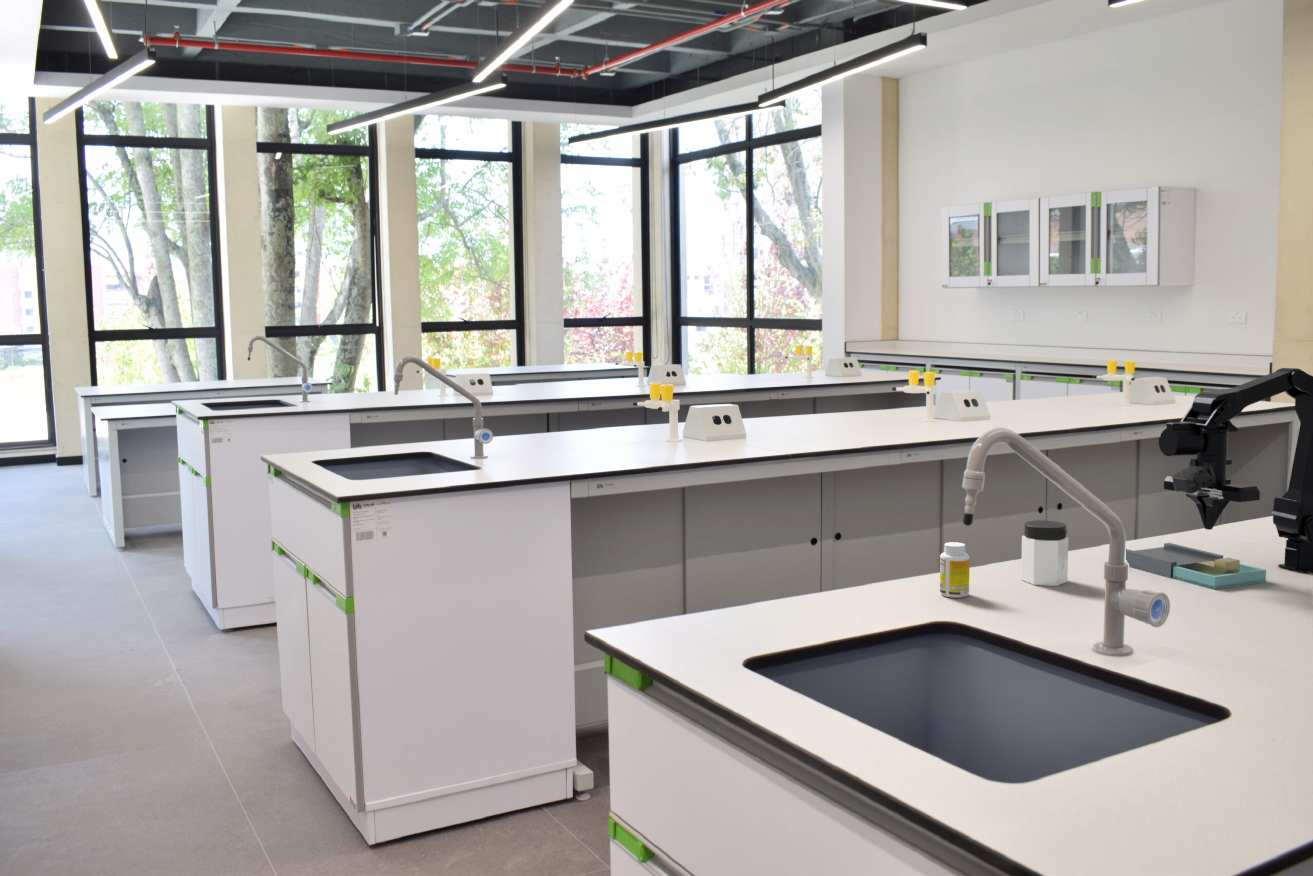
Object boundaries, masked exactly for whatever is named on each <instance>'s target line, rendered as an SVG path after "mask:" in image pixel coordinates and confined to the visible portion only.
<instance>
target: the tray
mask: <svg viewBox="0 0 1313 876" xmlns="http://www.w3.org/2000/svg"><path fill="white" fill-rule="evenodd" d="M1172 579H1173V580H1177V581H1182V582H1184V583H1185V582H1186V583H1188V584H1192V585H1196V586H1200V587H1203V588H1207V589H1211V590H1215V591H1216V590H1221V589H1226V588H1232V587H1233V588H1234V587H1240V586H1246V585H1254V584H1261V583H1266V582H1267V581H1266V580H1267V569H1265V568H1264V569H1263V568H1260V567H1256V566H1251V565H1247V564H1243V563H1240V567H1239V572H1238V573H1231V574H1224V575H1217V576H1213V575H1209V574H1205V573H1201V572H1197V571H1194V570H1190V569H1186V568H1182V567H1178V566H1173V578H1172Z"/></svg>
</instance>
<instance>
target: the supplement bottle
mask: <svg viewBox="0 0 1313 876" xmlns="http://www.w3.org/2000/svg"><path fill="white" fill-rule="evenodd" d="M943 545H944V548H943V552H942V553H940V554H939V592H940V594H941V595H942V596H943V597H947V598H952V599H953V598H954V599H955V598H956V599H960V598H961V599H963V598H966V597H968V596H969V594H970V555H969V554H968V553H967V552H966V543H962V542H956V541H954V542H953V541H951V542H950V541H949V542H945V543H944V544H943Z"/></svg>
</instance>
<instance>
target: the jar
mask: <svg viewBox="0 0 1313 876" xmlns="http://www.w3.org/2000/svg"><path fill="white" fill-rule="evenodd" d="M1023 525H1024V526H1023V527H1024V529H1023V531H1024V533H1023V535H1022V536H1021V564H1020V565H1021V567H1020V574H1021V575H1020V580H1021V581H1023V582H1026V583H1028V584H1030V585H1033V586H1044V587H1058V586H1061V585H1063V584H1066V583H1067V582H1068V571H1069V570H1068V567H1069V537H1067V533H1068V532H1067V531H1068V530H1067V524H1066V523H1063V522H1060V521H1055V520H1054V521H1053V520H1044V519H1043V520H1040V519H1039V520H1027V521H1026V522H1024V524H1023Z"/></svg>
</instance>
